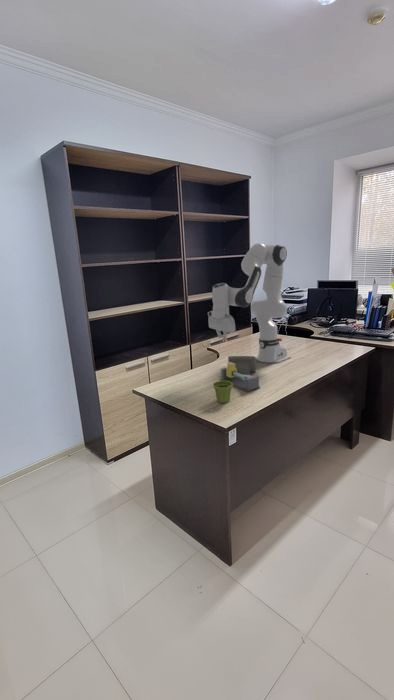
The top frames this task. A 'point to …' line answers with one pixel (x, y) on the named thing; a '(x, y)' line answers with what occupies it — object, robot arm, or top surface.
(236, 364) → the digital clock
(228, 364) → the yellow stepped block
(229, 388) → the plant pot
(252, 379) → the grey rectangular frame
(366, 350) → the top surface
